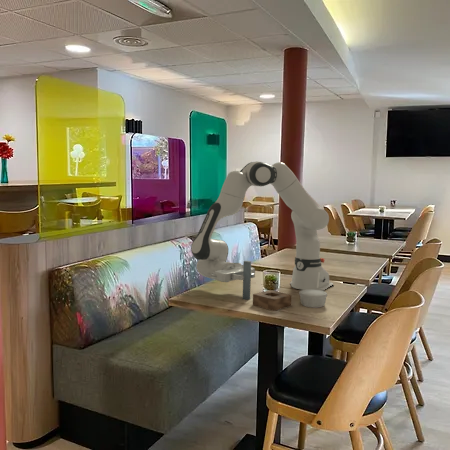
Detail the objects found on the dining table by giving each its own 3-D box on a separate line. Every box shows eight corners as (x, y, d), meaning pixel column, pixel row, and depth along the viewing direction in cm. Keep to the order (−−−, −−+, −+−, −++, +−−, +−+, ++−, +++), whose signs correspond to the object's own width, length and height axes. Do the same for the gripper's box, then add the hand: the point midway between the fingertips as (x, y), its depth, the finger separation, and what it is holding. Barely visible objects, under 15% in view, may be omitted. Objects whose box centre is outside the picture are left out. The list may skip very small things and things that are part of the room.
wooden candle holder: (270, 300, 194) (270, 289, 194) (291, 305, 186) (291, 295, 186) (252, 305, 186) (252, 294, 186) (273, 310, 179) (274, 299, 178)
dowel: (246, 297, 198) (247, 260, 197) (251, 298, 196) (252, 261, 195) (241, 298, 196) (242, 261, 195) (246, 300, 194) (247, 262, 192)
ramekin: (296, 301, 194) (296, 289, 194) (322, 301, 195) (322, 289, 195) (302, 308, 183) (302, 295, 183) (330, 308, 184) (330, 295, 183)
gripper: (208, 267, 197) (231, 272, 187) (241, 262, 211) (264, 266, 201) (208, 282, 197) (231, 287, 188) (240, 275, 212) (263, 280, 202)
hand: (248, 276), depth 195 cm, fingers open, 5 cm apart
